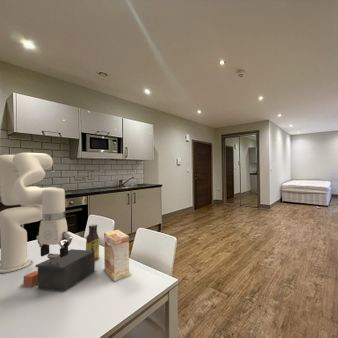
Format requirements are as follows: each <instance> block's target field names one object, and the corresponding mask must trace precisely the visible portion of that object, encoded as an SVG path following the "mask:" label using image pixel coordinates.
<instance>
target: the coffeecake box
mask: <svg viewBox="0 0 338 338" xmlns="http://www.w3.org/2000/svg"><path fill="white" fill-rule="evenodd" d="M129 239H130V236H129V235H128V234H126V233H124V232H123V231H121V230H120V229H115V230H109V231H104V232H103V244H104V245H103V246H104V247H103V250H104V251H103V253H104V255H103V256H104V257H103V259H104V272H106V274H107V275H108V276H109V277H110V278H111V280H113V281H114V282H116V281H119V280H120V279H123V278H127V277H129V276H130V240H129Z"/></svg>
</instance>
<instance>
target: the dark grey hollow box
mask: <svg viewBox="0 0 338 338" xmlns="http://www.w3.org/2000/svg"><path fill="white" fill-rule="evenodd" d="M95 262H96V260H95V253H92V254H91V255H89V256H87V257H85V258H83V259H81V260H79V261H77V262H75V263H73V264H72V265H70V266H68V267H66V268H64V269H53V268H41V267H37V271H38V284H37V289H39V290H48V291H49V290H50V291H59V292H66V291H68V290H69V289H71V288H72V287H74V286H75V285H77V284H78V283H80V282H81V281H83V280H84V279H86V278H88V277H90V276H91V275H92V274H94V273H95V271H96V269H95V267H96V266H95V265H96V264H95Z"/></svg>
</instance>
